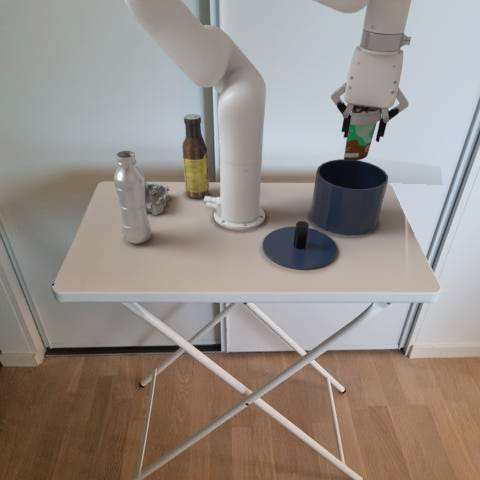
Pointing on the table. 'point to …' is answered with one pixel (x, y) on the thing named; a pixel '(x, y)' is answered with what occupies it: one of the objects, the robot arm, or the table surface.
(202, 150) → the sauce bottle
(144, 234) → the plastic bottle
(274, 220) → the table surface
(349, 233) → the pot
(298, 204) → the table surface
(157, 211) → the grey metal casting
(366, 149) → the food container
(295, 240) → the pot lid
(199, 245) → the table surface
